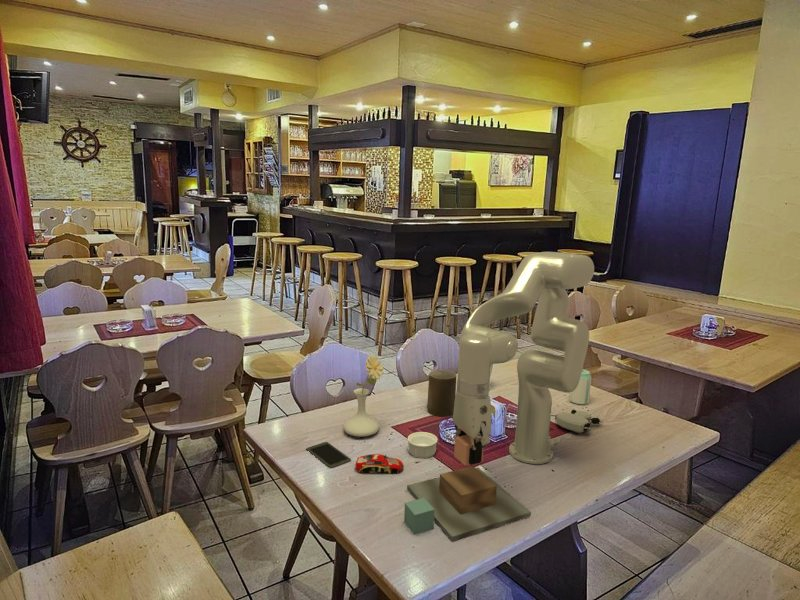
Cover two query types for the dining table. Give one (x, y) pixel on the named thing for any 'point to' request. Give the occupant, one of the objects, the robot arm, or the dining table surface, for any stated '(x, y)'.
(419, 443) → the ramekin
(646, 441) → the dining table surface
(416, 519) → the teal-grey brick
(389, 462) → the race car
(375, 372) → the flower in vase
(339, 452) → the cell phone
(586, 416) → the robot toy
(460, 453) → the terracotta brick
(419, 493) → the tower base
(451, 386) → the pillar candle
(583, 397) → the can
